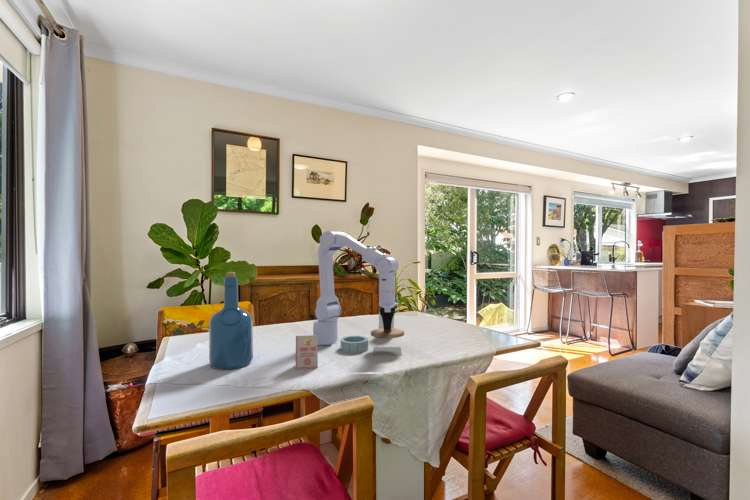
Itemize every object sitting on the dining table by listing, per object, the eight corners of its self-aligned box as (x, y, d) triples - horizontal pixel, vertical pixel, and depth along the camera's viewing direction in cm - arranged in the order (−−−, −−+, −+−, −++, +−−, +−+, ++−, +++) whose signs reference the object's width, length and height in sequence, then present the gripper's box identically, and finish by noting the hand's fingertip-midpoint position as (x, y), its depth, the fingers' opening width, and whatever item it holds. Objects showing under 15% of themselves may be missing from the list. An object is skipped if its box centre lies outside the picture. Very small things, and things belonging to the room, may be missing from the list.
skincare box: (377, 336, 155) (377, 307, 155) (387, 335, 157) (387, 306, 157) (385, 339, 150) (385, 310, 149) (394, 338, 152) (394, 309, 152)
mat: (373, 356, 128) (373, 355, 127) (373, 348, 138) (373, 346, 137) (402, 356, 127) (402, 355, 127) (400, 348, 137) (400, 346, 137)
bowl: (339, 354, 131) (339, 342, 131) (342, 346, 141) (342, 335, 141) (367, 354, 131) (367, 342, 130) (368, 346, 141) (368, 335, 140)
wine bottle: (210, 360, 124) (209, 271, 124) (252, 355, 129) (251, 270, 128) (207, 373, 111) (206, 274, 111) (253, 368, 116) (253, 273, 115)
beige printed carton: (296, 365, 119) (296, 334, 119) (317, 364, 120) (317, 333, 120) (295, 369, 115) (295, 337, 115) (317, 367, 117) (317, 336, 116)
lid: (370, 338, 126) (369, 324, 126) (371, 330, 138) (371, 317, 138) (405, 338, 126) (405, 324, 126) (403, 329, 138) (403, 317, 138)
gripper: (399, 293, 125) (399, 333, 125) (397, 288, 139) (397, 324, 139) (378, 293, 125) (378, 333, 125) (378, 288, 139) (378, 324, 140)
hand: (387, 328), depth 132 cm, fingers closed on lid, 3 cm apart
